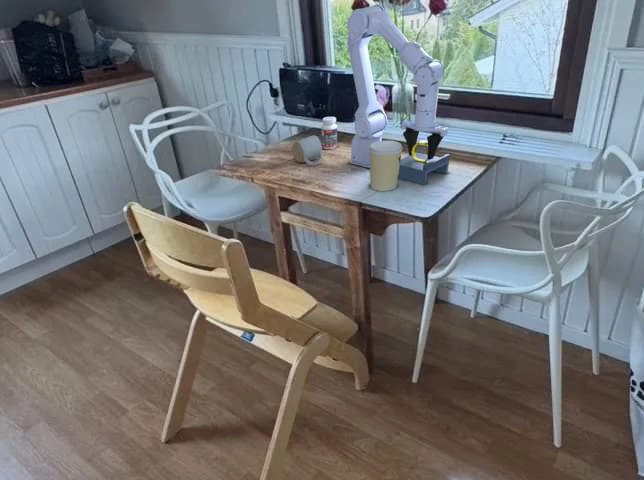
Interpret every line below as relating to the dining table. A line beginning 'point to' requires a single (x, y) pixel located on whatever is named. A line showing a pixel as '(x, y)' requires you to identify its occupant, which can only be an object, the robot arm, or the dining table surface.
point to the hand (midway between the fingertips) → (421, 156)
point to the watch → (421, 142)
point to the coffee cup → (384, 164)
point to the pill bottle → (329, 133)
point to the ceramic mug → (308, 150)
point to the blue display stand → (422, 167)
